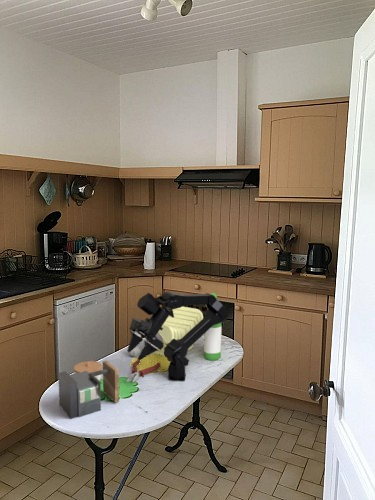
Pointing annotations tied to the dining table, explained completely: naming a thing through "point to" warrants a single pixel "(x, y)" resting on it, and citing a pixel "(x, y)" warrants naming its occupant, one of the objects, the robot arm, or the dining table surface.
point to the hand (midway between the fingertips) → (133, 355)
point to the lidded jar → (88, 367)
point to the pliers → (141, 371)
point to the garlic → (134, 352)
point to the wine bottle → (213, 341)
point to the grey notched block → (78, 394)
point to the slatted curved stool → (179, 325)
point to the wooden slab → (108, 381)
